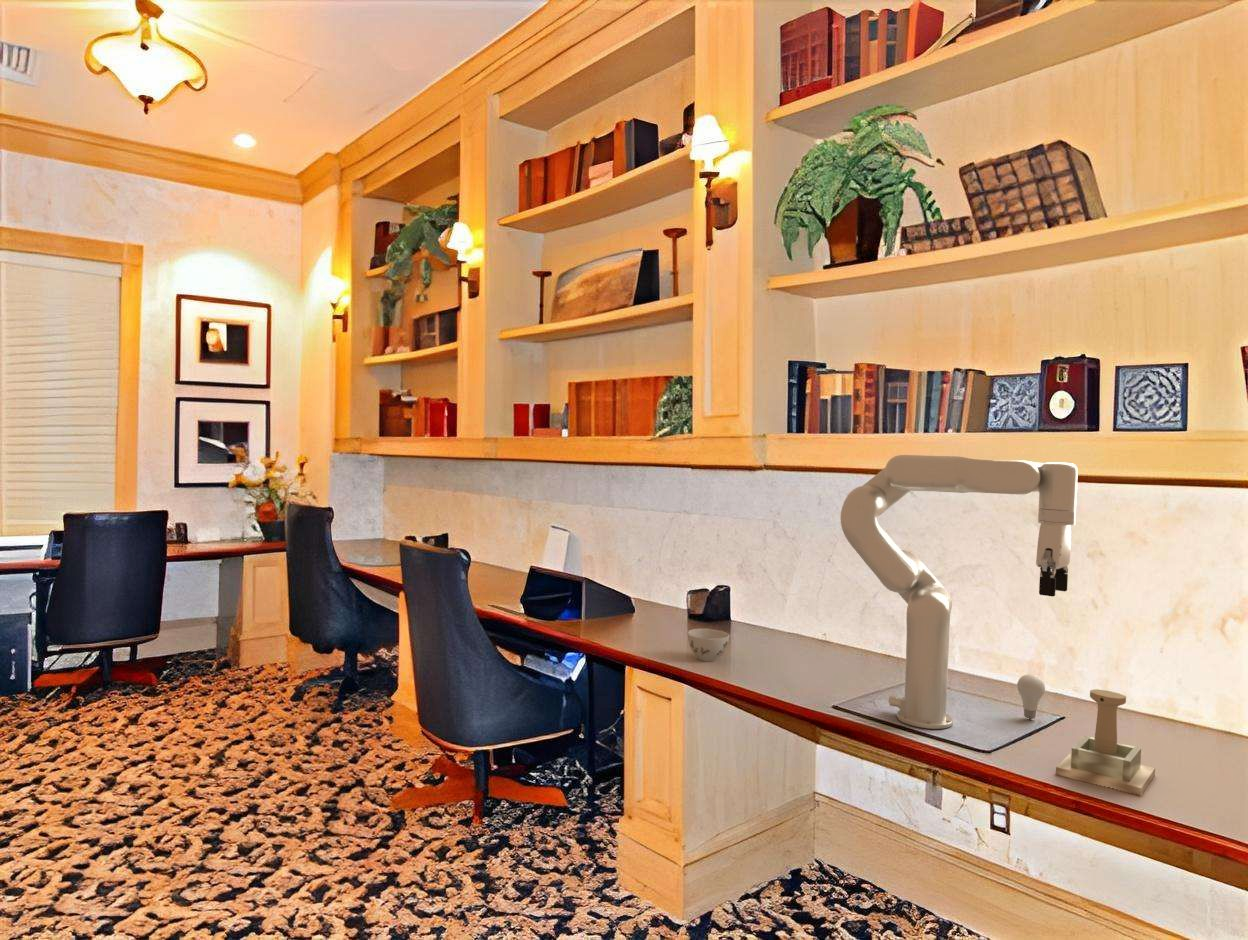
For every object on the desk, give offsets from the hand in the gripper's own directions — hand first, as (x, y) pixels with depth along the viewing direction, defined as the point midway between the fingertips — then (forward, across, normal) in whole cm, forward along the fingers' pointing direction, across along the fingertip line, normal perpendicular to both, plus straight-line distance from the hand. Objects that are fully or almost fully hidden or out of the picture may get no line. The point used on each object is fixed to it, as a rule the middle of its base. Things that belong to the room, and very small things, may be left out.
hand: (1053, 592), depth 195 cm
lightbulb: (+34, -12, -7) cm, 36 cm away
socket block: (+33, +15, +15) cm, 39 cm away
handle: (+32, +15, +15) cm, 38 cm away
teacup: (+34, -3, -95) cm, 101 cm away
